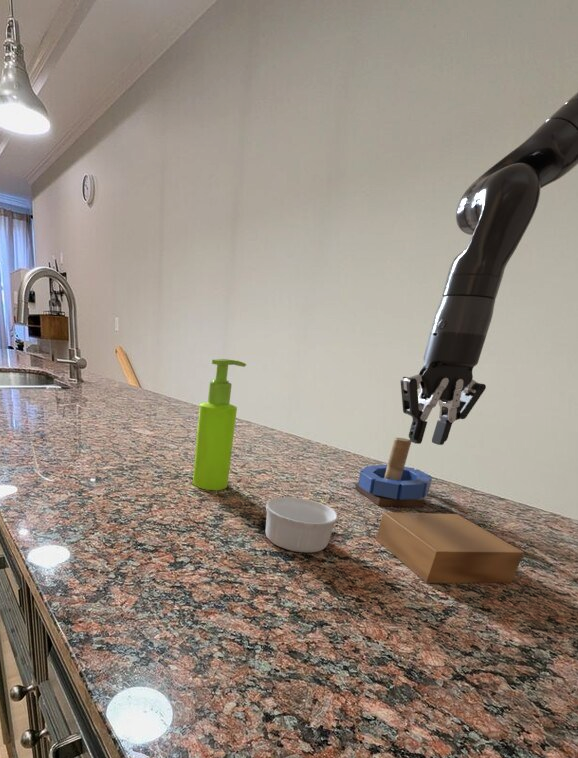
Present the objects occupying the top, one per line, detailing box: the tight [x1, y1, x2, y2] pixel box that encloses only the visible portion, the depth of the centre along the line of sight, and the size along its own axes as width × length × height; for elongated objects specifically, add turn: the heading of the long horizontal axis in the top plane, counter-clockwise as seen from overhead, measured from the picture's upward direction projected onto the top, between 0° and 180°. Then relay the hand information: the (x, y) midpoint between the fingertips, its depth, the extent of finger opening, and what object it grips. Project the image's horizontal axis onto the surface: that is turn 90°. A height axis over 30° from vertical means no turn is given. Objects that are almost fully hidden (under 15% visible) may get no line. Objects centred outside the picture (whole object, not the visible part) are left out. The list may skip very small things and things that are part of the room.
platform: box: [375, 511, 525, 584], centre depth 55 cm, size 11×11×4 cm
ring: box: [358, 464, 433, 500], centre depth 76 cm, size 11×11×2 cm
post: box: [354, 437, 425, 508], centre depth 75 cm, size 8×8×10 cm
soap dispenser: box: [192, 358, 247, 491], centre depth 72 cm, size 6×7×20 cm
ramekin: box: [264, 496, 339, 554], centre depth 57 cm, size 9×9×4 cm
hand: (426, 442), depth 74 cm, fingers open, 3 cm apart
